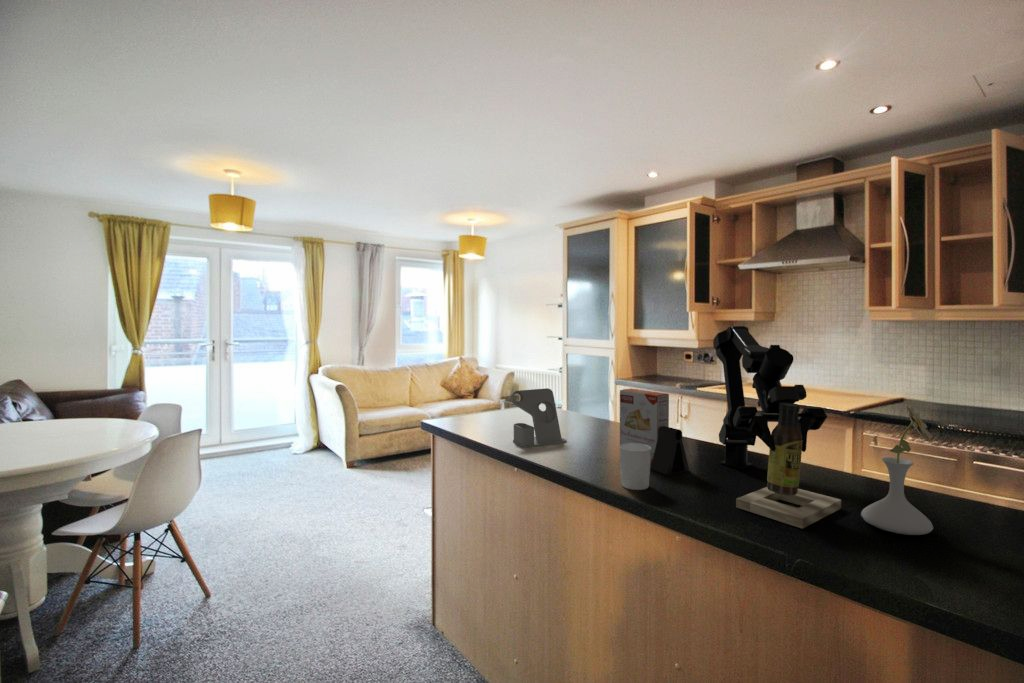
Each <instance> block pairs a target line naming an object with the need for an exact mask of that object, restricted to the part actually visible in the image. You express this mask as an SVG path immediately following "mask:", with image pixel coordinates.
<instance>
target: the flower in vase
mask: <svg viewBox="0 0 1024 683" xmlns="http://www.w3.org/2000/svg"><path fill="white" fill-rule="evenodd" d="M905 411H906V414H907V416H908V418H909V419H910V423H909V425H908V426H907V427H906V428H905V430H904V431H903V433H902V435H901V437H900V440H899V443H898V444H896V445H895V446H894V447H893V448H892V449H890V450H889V452H892V453H895V454H897V455H896V457H893V456H891V457H890V456H885V457H882V458H881V460H882V461H883V463H884V464H885V466H886V468H887V471H888V477H889V488H888V489H889V490H888V493H887V495H886V496H885V497H884V498H882V499H879V500H877V501H875V502H873V503H870V504H869V505H867V506H866V507H864V508H862V510H861V512H860V516H861V518H862V519H863V520H864V521H865V522H866V523H867V524H870V525H871V526H874V527H876V528H878V529H880V530H883V531H886V532H889V533H893V534H897V535H898V534H900V535H907V536H921V535H928V534H930V533H931V532H932V531H933V529H934V526H933V523H932V521H930V519H929V518H928V517H927V516H926V515H925V514H923V513H922V512H921V511H920V510H919V509H917V508H916V507H915V506H914V505H912V504H911V502H909V500H907V497H906V495H905V480H906V477H907V472H908V471H909V469H910V468H911V466H913V465H914V462H913V461H912V460H909V459H906V458H901V457H900V454H901V453H904V452H907V453H909V452H911V450H912V448H911V446H910V444H909V442H908V441H907V440H906V439H904V438H905V436H906V435H907V433H908V431H909V430H910V428H911V427H914V428H915V430H916V431H917V432H918V434H919V435H920V437H921V438H922V439H924V440H925V441H926V442H931V441H932V434H931V433H930V432H929V431H928V430H927V428H928V426H927V423H925V422H923V420H922V418H921V415H920V413H919V411H916V412H915V409H914V406H913V405H912V404H911V403H906V404H905Z"/></svg>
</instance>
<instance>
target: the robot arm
mask: <svg viewBox="0 0 1024 683" xmlns="http://www.w3.org/2000/svg"><path fill="white" fill-rule="evenodd" d="M712 340H713V341H712V343H713V344H712V345H713V348H714V350H715V355H716V357H717V358H718V359H719V361H720V362H721V363H722V367H723V368H722V369H723V376H724V384H725V385H724V386H725V394H726V403H727V411H726V414H725V416H724V417H723V419H722V421H723V423H722V425H721V427H720V431H719V433H718V439H719V442H720V443H721V444H722V445H724V446H725V447H724V448H725V449H724V460H721V461H719V464H721V465H725V466H727V467H728V466H729V467H733V468H736V469H744V468H747V467H750V466H753V465H754V464H753V463H752V462H749V461H748V447H749V446H753V447H754V446H755V444H756V441H757V440H756V439H757V437H758V439H760V440H761V441H762V442H763V443H764V444H765V445H766V446H767V447H768V448H769V450H770V449H771V450H772V451H775V444H774V441H773V438H772V435H771V433H772V432H771V431H770V428H769V423H778V419H779V403H781V402H787V403H793V404H796V402H799V401H802V400H805V399H806V398H807V391H806V390H807V389H806V388H805V386H804V384H794V385H792V386H790V385H788V386H787V385H784V386H782V383H781V381H782V380H784V379H785V377H786V376H787V374H788V373H789V370H790V369H791V367H792V364H793V362H794V355H793V354H792V353H791V352H789V351H788V350H786V349H784V348H781V345H780V344H770V345H769V347H766V346H763V345H760V344H759V343H758V341H757V340H756V339H755V337H754V336H753V335H752V334H751V332H750V330H749V327H748V326H745V325H731V326H728V327H727V328H726V329H724V330H722V331H720V332H718V333H717V334H716V335H715V337H713V339H712ZM740 360H741V361H740ZM741 365H742V368H743V369H744V371H745V372H746V373H747V374H754V375H753V377H752V384H751V385H752V386H751V387H752V389H754V390H755V393H756V395H757V398H758V401H757V406H758V407H760V408H761V410H759V409H758V407H756V406H753V405H751V406H749V405H746V400H745V393H744V386H743V378H742V371H741V370H742V369H741ZM826 419H828V414H827V412H826V409H824V408H823V407H821V406H819V407H815V406H814V407H812V406H811V407H810V406H809V407H808V406H805V407H803V408H802V411H801V412H798V424H797V427H798V428H799V430H800V432H801V434H802V440H803V442H802V452H803V453H806V451H807V442H808V432H809V431H816V430H817V431H818V430H819V429H820V428H821V427H822V425H823V424H824V422H826Z"/></svg>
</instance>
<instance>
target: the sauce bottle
mask: <svg viewBox="0 0 1024 683" xmlns="http://www.w3.org/2000/svg"><path fill="white" fill-rule="evenodd" d="M800 407H801V406H800V404H798V403H794V404H793V403H787V402H781V403H779V419H778V422H777V424H776V426H775V427H774V428H773V429H772V430H771V432H770V433H771V435H772V438H773V441H774V444H775V451H772V450H771V449H770V448H769V452H768V464H767V477H766V481H767V484H766V487H767V488H768V490H770V491H772V492H775V493H778V494H782V495H796V494H797V492H798V489H799V487H800V486H799V485H800V476H801V465H802V454H803V453H802V452H803V451H802V442H803V440H802V434H801V432H800V430H799V428H798V427H797V424H798V413H800V411H801V409H800Z"/></svg>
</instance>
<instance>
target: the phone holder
mask: <svg viewBox="0 0 1024 683" xmlns="http://www.w3.org/2000/svg"><path fill="white" fill-rule="evenodd" d="M517 394H518V395H519V396H520V399H519V400H518V401H517V400H516V399H515V395H517ZM510 399H511V403H512V404H513V405H514V406H515V407H516V408H519V409H520V410H522V411H524V412H525V413H527V414H528V415H530V416H531V417H532V423H533V424H532V425H533V426H532V425H530V424H526V423H524V422H518V423H517V422H516V423H514V424H513V440H512V443H513V444H515V445H517V446H520V447H522V448H525V449H528V448H529V449H530V448H535V447H542V446H550V445H558V444H565V443H567V439H566V438H563V437H562V434H561V428H560V423H559V417H558V413H557V412H558V411H557V408H556V401H555V395H554V391H553V390H552V389H551V388H534V389H524V390H523V389H521V390H516V391H514V392H512V393H511V395H510ZM542 404H543V405H544V406H545V410H543V411H542V409H540V405H542Z"/></svg>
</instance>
